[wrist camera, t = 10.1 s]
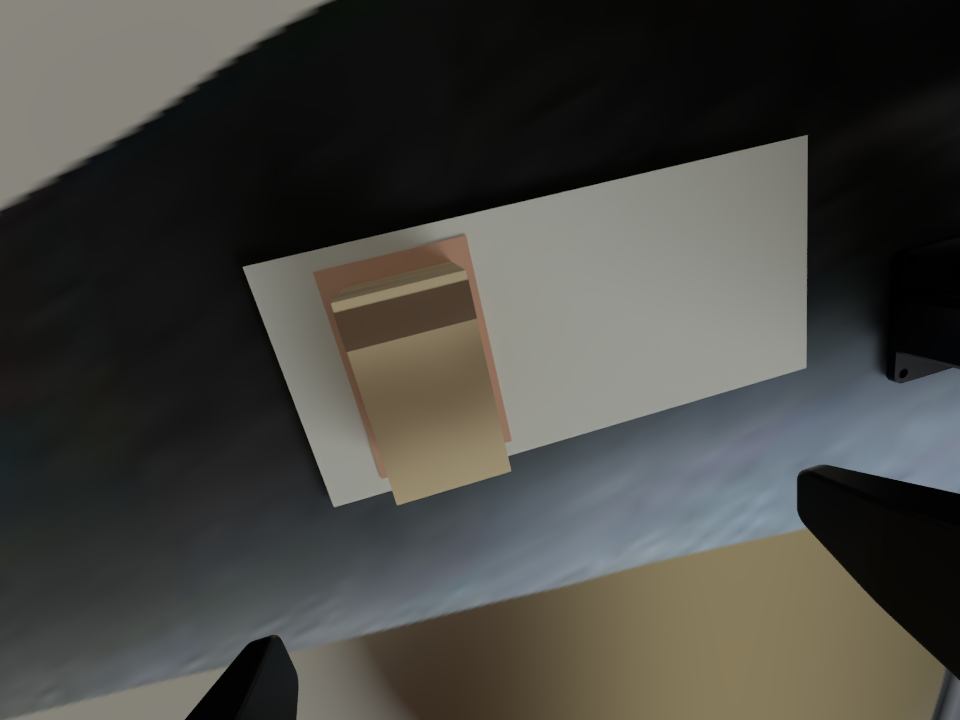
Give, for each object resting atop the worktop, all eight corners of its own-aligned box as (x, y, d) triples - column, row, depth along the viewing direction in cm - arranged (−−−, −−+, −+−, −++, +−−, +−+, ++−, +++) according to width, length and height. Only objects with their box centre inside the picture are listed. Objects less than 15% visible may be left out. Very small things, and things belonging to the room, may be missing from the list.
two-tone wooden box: (491, 428, 19) (511, 471, 16) (395, 455, 19) (396, 506, 15) (451, 261, 17) (466, 269, 13) (342, 287, 16) (330, 303, 13)
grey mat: (797, 137, 19) (809, 134, 18) (797, 364, 22) (808, 368, 21) (247, 265, 16) (241, 267, 16) (335, 500, 19) (333, 508, 19)
